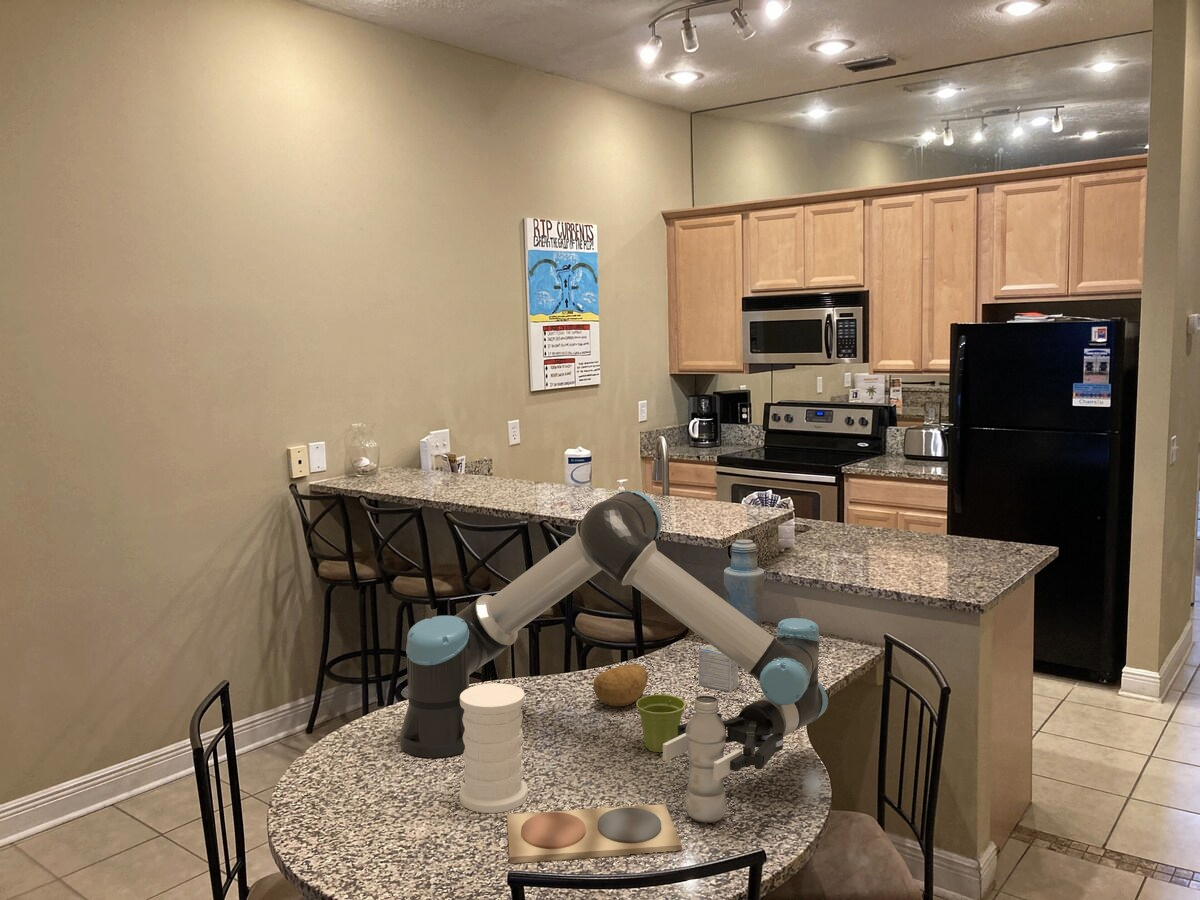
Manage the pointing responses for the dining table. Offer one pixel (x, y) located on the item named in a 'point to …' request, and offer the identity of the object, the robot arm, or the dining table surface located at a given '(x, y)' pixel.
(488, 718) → the decorative container
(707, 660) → the medicine box
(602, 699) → the potato
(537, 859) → the board
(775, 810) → the dining table surface
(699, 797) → the plastic bottle
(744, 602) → the bottle
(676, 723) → the plant pot
